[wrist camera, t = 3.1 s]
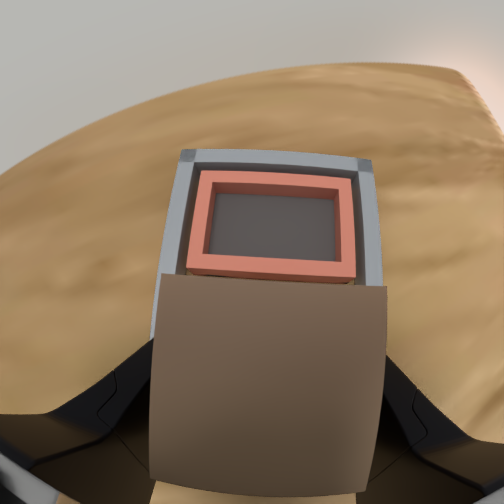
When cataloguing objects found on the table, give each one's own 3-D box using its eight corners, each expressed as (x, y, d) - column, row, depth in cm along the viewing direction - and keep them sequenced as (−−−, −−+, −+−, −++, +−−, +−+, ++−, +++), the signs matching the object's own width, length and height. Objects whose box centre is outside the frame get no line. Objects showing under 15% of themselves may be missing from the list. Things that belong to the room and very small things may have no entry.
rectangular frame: (346, 283, 16) (355, 277, 15) (193, 274, 17) (186, 267, 15) (343, 192, 18) (350, 178, 16) (206, 185, 19) (201, 170, 17)
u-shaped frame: (357, 452, 13) (367, 464, 11) (157, 439, 14) (145, 449, 12) (362, 175, 18) (371, 160, 16) (188, 166, 19) (181, 149, 17)
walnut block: (302, 398, 14) (364, 491, 4) (222, 393, 15) (149, 478, 4) (307, 321, 16) (386, 286, 5) (228, 316, 16) (161, 273, 6)
